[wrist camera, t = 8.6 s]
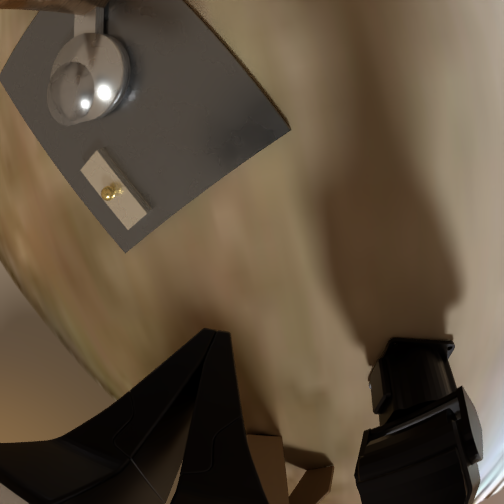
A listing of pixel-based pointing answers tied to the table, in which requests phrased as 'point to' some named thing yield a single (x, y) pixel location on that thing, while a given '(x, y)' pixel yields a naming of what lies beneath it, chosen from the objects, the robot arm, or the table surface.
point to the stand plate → (146, 114)
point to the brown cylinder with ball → (83, 63)
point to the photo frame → (274, 474)
